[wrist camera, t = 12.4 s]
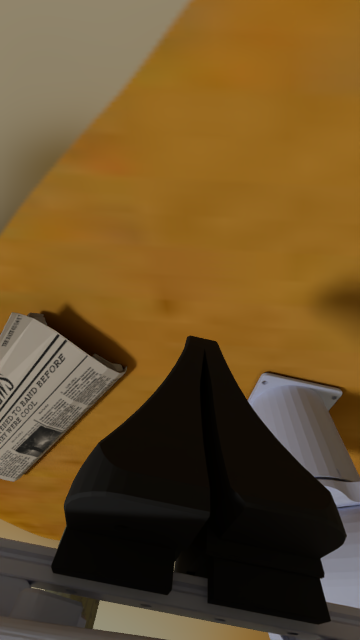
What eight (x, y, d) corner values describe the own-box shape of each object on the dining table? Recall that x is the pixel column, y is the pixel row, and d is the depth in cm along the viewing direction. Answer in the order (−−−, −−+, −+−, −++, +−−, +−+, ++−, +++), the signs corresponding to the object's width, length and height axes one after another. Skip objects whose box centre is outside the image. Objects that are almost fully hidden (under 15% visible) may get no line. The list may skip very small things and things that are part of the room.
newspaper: (23, 470, 42) (9, 494, 39) (-52, 438, 38) (-74, 461, 36) (136, 355, 25) (126, 381, 22) (20, 281, 22) (-9, 300, 19)
